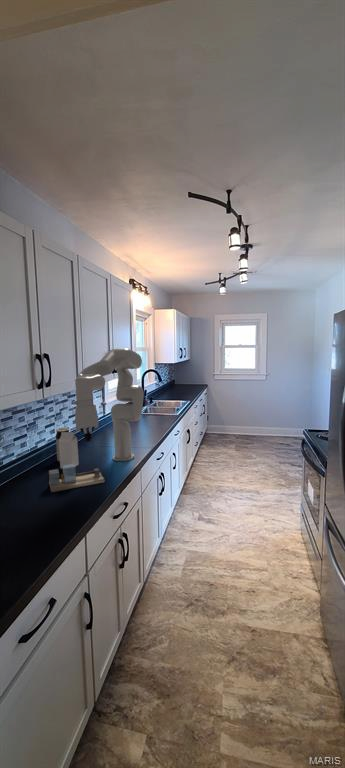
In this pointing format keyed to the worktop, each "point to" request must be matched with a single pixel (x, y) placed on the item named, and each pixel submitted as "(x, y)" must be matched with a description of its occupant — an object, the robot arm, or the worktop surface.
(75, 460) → the milk carton
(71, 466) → the sleeve
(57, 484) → the slider mechanism
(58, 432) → the travel mug
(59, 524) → the worktop surface
